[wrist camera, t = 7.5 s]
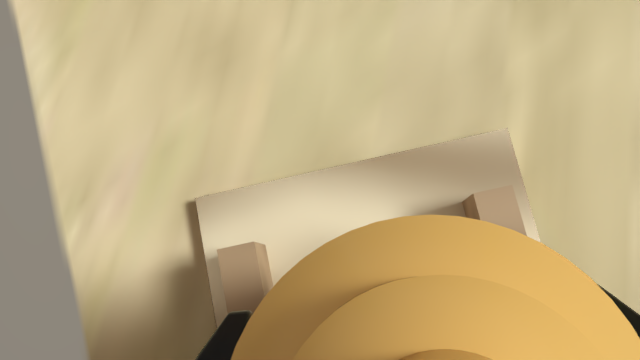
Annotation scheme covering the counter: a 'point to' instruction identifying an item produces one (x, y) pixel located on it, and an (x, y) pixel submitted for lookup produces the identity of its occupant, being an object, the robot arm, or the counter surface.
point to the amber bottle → (436, 299)
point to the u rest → (352, 209)
